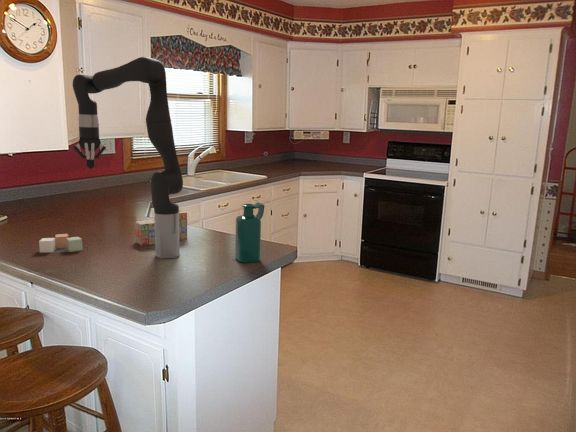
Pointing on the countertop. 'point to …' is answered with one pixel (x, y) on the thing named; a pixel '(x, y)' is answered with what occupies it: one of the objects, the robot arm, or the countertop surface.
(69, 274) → the countertop surface
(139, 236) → the stack of blocks
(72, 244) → the sage cube
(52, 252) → the mat
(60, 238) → the terracotta cube
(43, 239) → the cream cube
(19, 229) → the countertop surface
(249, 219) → the pitcher
